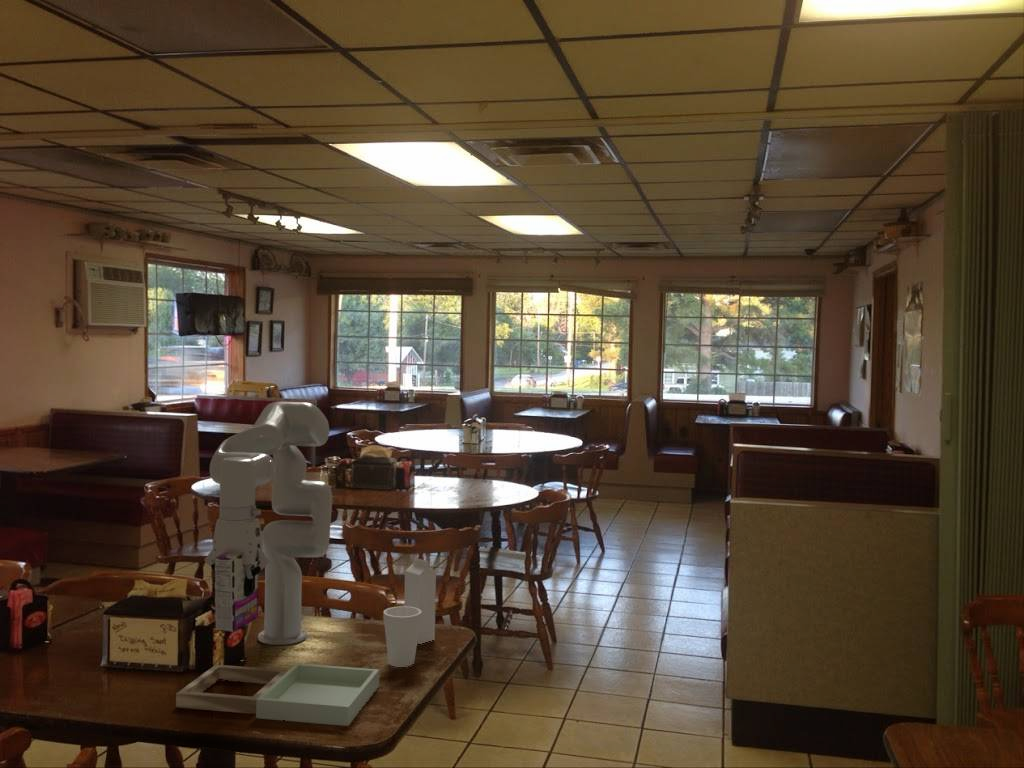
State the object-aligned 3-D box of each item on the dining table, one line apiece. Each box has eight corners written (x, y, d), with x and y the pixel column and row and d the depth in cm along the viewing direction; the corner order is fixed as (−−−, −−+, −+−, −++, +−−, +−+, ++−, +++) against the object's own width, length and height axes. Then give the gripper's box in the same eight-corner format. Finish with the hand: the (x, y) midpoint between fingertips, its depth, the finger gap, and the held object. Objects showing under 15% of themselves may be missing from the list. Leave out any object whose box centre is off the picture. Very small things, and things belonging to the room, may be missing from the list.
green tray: (296, 680, 206) (296, 663, 206) (378, 686, 204) (379, 669, 203) (256, 718, 185) (256, 699, 184) (348, 726, 182) (348, 706, 182)
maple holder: (215, 677, 207) (215, 664, 207) (288, 683, 204) (289, 670, 204) (176, 707, 189) (176, 693, 189) (255, 714, 187) (255, 699, 187)
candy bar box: (238, 615, 203) (239, 545, 202) (258, 617, 202) (259, 546, 201) (212, 631, 192) (213, 556, 191) (233, 633, 191) (234, 558, 190)
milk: (418, 645, 233) (419, 563, 232) (403, 640, 237) (404, 559, 236) (435, 640, 237) (436, 559, 236) (420, 635, 241) (421, 555, 241)
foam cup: (405, 654, 226) (406, 604, 225) (428, 664, 219) (429, 612, 219) (374, 662, 219) (375, 611, 219) (397, 673, 213) (398, 619, 212)
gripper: (280, 512, 198) (279, 591, 199) (209, 508, 200) (208, 587, 201) (267, 518, 191) (266, 601, 192) (192, 514, 193) (192, 596, 194)
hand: (236, 593), depth 196 cm, fingers closed on candy bar box, 5 cm apart
